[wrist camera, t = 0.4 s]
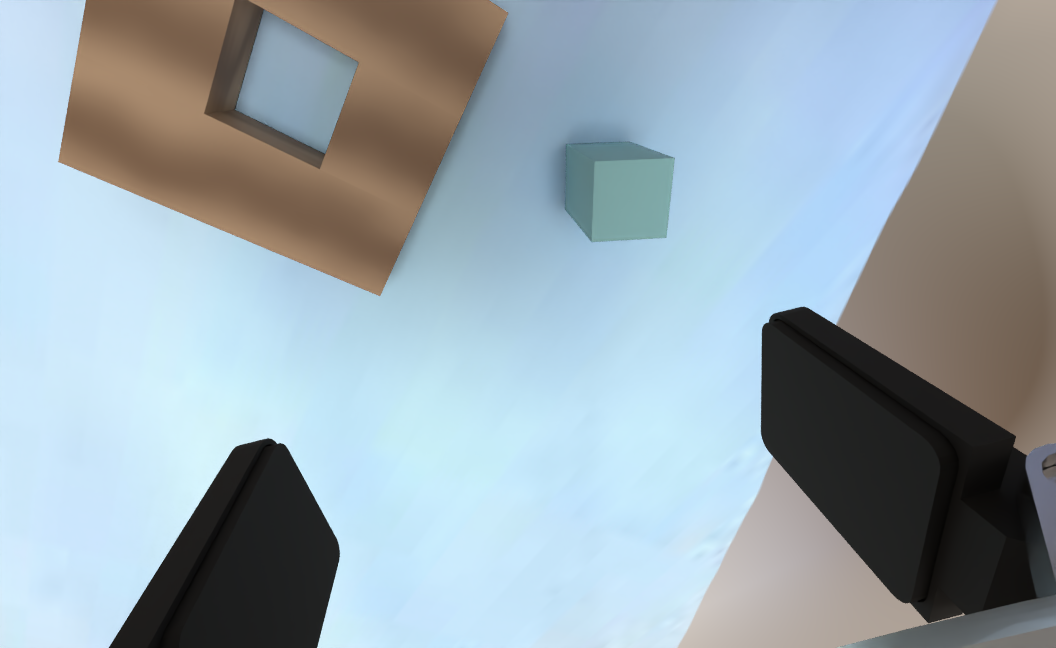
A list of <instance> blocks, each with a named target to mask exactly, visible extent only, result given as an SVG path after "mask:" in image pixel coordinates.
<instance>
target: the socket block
mask: <svg viewBox="0 0 1056 648" xmlns="http://www.w3.org/2000/svg"><path fill="white" fill-rule="evenodd" d="M264 9H265V10H266V11H268V12H270V13H272V14H274V15H275V16H277V17H279V18H281V19H282V20H284V21H286V22H288V23H290V24H291V25H293V26H295V27H297V28H299V29H300V30H302V31H304V32H306V33H307V34H309V35H311V36H313V37H315V38H316V39H318V40H320V41H322V42H323V43H325V44H327V45H329V46H331V47H332V48H334V49H336V50H338V51H340V52H341V53H343V54H345V55H347V56H348V57H350V58H352V59H354V60H356V61H357V62H359V64H358V66H357V69H356V72H355V75H354V77H353V80H352V83H351V85H350V88H349V91H348V94H347V96H346V99H345V102H344V105H343V107H342V110H341V113H340V116H339V118H338V121H337V124H336V126H335V129H334V132H333V135H332V137H331V140H330V143H329V146H328V148H327V151H326V154H323V153H321V152H319V151H317V150H315V149H313V148H311V147H309V146H307V145H305V144H303V143H301V142H299V141H297V140H295V139H293V138H291V137H289V136H287V135H285V134H283V133H281V132H279V131H277V130H275V129H273V128H271V127H269V126H267V125H264V124H262V123H260V122H258V121H256V120H254V119H252V118H250V117H248V116H246V115H244V114H242V113H240V112H238V111H236V110H235V106H236V103H237V99H238V96H239V93H240V89H241V86H242V82H243V79H244V75H245V72H246V68H247V65H248V62H249V58H250V55H251V51H252V48H253V44H254V41H255V37H256V34H257V31H258V27H259V24H260V20H261V17H262V13H263V10H264ZM507 15H508V12H506V11H505V10H503V9H501V8H500V7H498V6H497V5H495V4H494V3H492V2H491V1H489V0H86V4H85V10H84V15H83V21H82V27H81V33H80V39H79V45H78V50H77V56H76V62H75V68H74V74H73V79H72V85H71V91H70V97H69V103H68V109H67V114H66V120H65V126H64V132H63V138H62V144H61V149H60V155H59V161H58V162H60V163H62V164H65V165H67V166H70V167H72V168H74V169H77V170H79V171H82V172H84V173H86V174H89V175H91V176H94V177H96V178H98V179H101V180H103V181H106V182H108V183H110V184H113V185H115V186H118V187H120V188H122V189H125V190H127V191H129V192H132V193H134V194H137V195H139V196H141V197H144V198H146V199H149V200H151V201H153V202H156V203H158V204H161V205H163V206H165V207H168V208H170V209H173V210H175V211H177V212H180V213H182V214H185V215H187V216H189V217H192V218H194V219H197V220H199V221H201V222H204V223H206V224H208V225H211V226H213V227H216V228H218V229H220V230H223V231H225V232H228V233H230V234H232V235H235V236H237V237H240V238H242V239H244V240H247V241H249V242H252V243H254V244H256V245H259V246H261V247H264V248H266V249H268V250H271V251H273V252H276V253H278V254H280V255H283V256H285V257H288V258H290V259H292V260H295V261H297V262H299V263H302V264H304V265H307V266H309V267H311V268H314V269H316V270H319V271H321V272H323V273H326V274H328V275H331V276H333V277H335V278H338V279H340V280H343V281H345V282H347V283H350V284H352V285H355V286H357V287H359V288H362V289H364V290H367V291H369V292H371V293H374V294H376V295H378V296H380V295H381V293H382V291H383V288H384V286H385V284H386V282H387V280H388V277H389V275H390V273H391V271H392V269H393V266H394V264H395V262H396V260H397V258H398V255H399V253H400V251H401V249H402V247H403V244H404V242H405V240H406V238H407V235H408V233H409V231H410V229H411V227H412V224H413V222H414V220H415V218H416V216H417V213H418V211H419V209H420V207H421V205H422V202H423V200H424V198H425V196H426V194H427V191H428V189H429V187H430V185H431V183H432V180H433V178H434V176H435V174H436V172H437V169H438V167H439V165H440V163H441V160H442V158H443V156H444V154H445V152H446V149H447V147H448V145H449V143H450V141H451V138H452V136H453V134H454V132H455V130H456V127H457V125H458V123H459V121H460V119H461V116H462V114H463V112H464V110H465V108H466V105H467V103H468V101H469V99H470V97H471V94H472V92H473V90H474V88H475V85H476V83H477V81H478V79H479V77H480V74H481V72H482V70H483V68H484V66H485V63H486V61H487V59H488V57H489V55H490V52H491V50H492V48H493V46H494V44H495V41H496V39H497V37H498V35H499V33H500V30H501V28H502V26H503V24H504V22H505V19H506V17H507Z"/></svg>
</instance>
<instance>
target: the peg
mask: <svg viewBox="0 0 1056 648" xmlns="http://www.w3.org/2000/svg"><path fill="white" fill-rule="evenodd" d="M674 160H675V158H673V157H670V156H668V155H665V154H662V153H659V152H657V151H654V150H651V149H648V148H645V147H643V146H640V145H637V144H634V143H632V142H610V143H583V144H566V189H565V210H566V211H567V212H568V213H569V215H570V216H571V217H572V218H573V220H574V221H575V222H576V223H577V225H578V226H579V227H580V228H581V229H582V231H583V232H584V233H585V234H586V236H587V237H588V238H589V239H590V241H591V242H601V241H618V240H635V239H653V238H666V236H667V227H668V217H669V208H670V198H671V189H672V179H673V170H674Z"/></svg>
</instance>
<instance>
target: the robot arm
mask: <svg viewBox="0 0 1056 648" xmlns="http://www.w3.org/2000/svg"><path fill="white" fill-rule="evenodd" d="M761 436H762V439H763V442H764V444H765V446H766V448H767V450H768V451H769V452H770V453H771V455H772V456H773V457H774V458H775V459H776V460H777V461H778V463H779V464H780V465H781V466H782V467H783V468H784V470H785V471H786V472H787V473H788V474H789V475H790V477H792V479H793V480H794V481H795V482H796V483H797V485H798V486H799V487H800V488H801V489H802V490H803V492H804V493H805V494H806V495H807V496H808V497H809V498H810V500H811V501H812V502H813V503H814V504H815V505H816V507H817V508H818V509H819V510H820V511H821V512H822V513H823V515H824V516H825V517H826V518H827V519H828V520H829V522H830V523H831V524H832V525H833V526H834V527H835V529H836V530H837V531H838V532H839V533H840V534H841V535H842V537H843V538H844V539H845V540H846V541H847V542H848V544H849V545H850V546H851V547H852V548H853V549H854V550H855V551H856V553H857V554H858V555H859V556H860V557H861V559H862V560H863V561H864V562H865V563H866V564H867V565H868V567H869V568H870V569H871V570H872V571H873V572H874V574H875V575H876V576H877V577H878V578H879V579H880V580H881V582H882V583H883V584H884V585H885V586H886V587H887V589H888V590H889V591H890V592H891V593H892V594H893V595H894V596H895V597H896V598H897V599H898V600H900V601H901V602H903V603H911V604H912V605H913V607H914V608H915V609H916V610H917V611H918V612H919V613H920V614H921V616H922V617H923V618H924V619H925V620H926V621H927V622H928V623H931V622H935V621H938V620H942V619H946V618H950V617H953V616H957V615H961V614H962V613H964V614H965V615H964V616H960V617H956V618H952V619H948V620H944V621H940V622H936V623H931V624H927V625H923V626H919V627H915V628H911V629H906V630H902V631H899V632H895V633H891V634H887V635H883V636H879V637H875V638H872V639H868V640H864V641H860V642H856V643H853V644H849V645H845V646H841V647H837V648H1056V443H1055V444H1047V445H1044V446H1041V447H1038V448H1035V449H1034V450H1032V451H1031V453H1030V454H1029V455H1028V456H1027V455H1025V454H1023V453H1022V452H1020V451H1018V450H1017V449H1016V448H1014V447H1013V445H1014V442H1015V438H1016V436H1015V435H1013V434H1011V433H1010V432H1008V431H1007V430H1005V429H1003V428H1002V427H1000V426H998V425H997V424H995V423H994V422H992V421H990V420H989V419H987V418H985V417H984V416H982V415H980V414H979V413H977V412H976V411H974V410H973V409H971V408H969V407H968V406H966V405H964V404H963V403H961V402H960V401H958V400H956V399H955V398H953V397H951V396H950V395H948V394H947V393H945V392H943V391H942V390H940V389H939V388H937V387H935V386H934V385H932V384H930V383H929V382H927V381H926V380H924V379H922V378H921V377H919V376H917V375H916V374H914V373H913V372H910V371H909V370H907V369H906V368H904V367H903V366H901V365H900V364H898V363H896V362H895V361H893V360H891V359H890V358H888V357H887V356H885V355H883V354H881V353H880V352H878V351H877V350H875V349H873V348H872V347H870V346H869V345H867V344H866V343H864V342H862V341H861V340H859V339H857V338H856V337H854V336H853V335H851V334H849V333H848V332H846V331H844V330H843V329H841V328H840V327H838V326H836V325H835V324H833V323H832V322H830V321H828V320H827V319H825V318H823V317H822V316H820V315H819V314H817V313H815V312H814V311H812V310H810V309H809V308H806V307H799V308H795V309H791V310H787V311H783V312H778V313H774V314H773V315H772V316H771V317H770V319H769V323H766V324H764V326H763V328H762V382H761ZM339 557H340V550H339V544H338V541H337V539H336V537H335V535H334V533H333V531H332V529H331V528H330V526H329V524H328V522H327V520H326V518H325V516H324V515H323V513H322V511H321V509H320V507H319V505H318V504H317V502H316V500H315V498H314V496H313V494H312V493H311V491H310V489H309V487H308V485H307V483H306V481H305V480H304V478H303V476H302V474H301V472H300V470H299V469H298V467H297V465H296V463H295V461H294V459H293V458H292V456H291V454H290V452H289V450H288V449H287V447H286V446H285V445H284V444H281V443H279V444H277V443H276V442H275V441H274V440H272V439H269V438H267V439H263V440H259V441H255V442H251V443H247V444H243V445H239V446H237V447H235V448H234V449H233V450H232V452H231V454H230V455H229V457H228V458H227V460H226V462H225V463H224V465H223V466H222V468H221V470H220V471H219V473H218V474H217V476H216V478H215V479H214V481H213V482H212V484H211V485H210V487H209V489H208V490H207V492H206V493H205V495H204V497H203V498H202V500H201V501H200V503H199V505H198V506H197V508H196V509H195V511H194V513H193V514H192V516H191V517H190V519H189V521H188V522H187V524H186V525H185V527H184V529H183V530H182V532H181V533H180V535H179V537H178V538H177V540H176V541H175V543H174V545H173V546H172V548H171V549H170V551H169V553H168V554H167V556H166V557H165V559H164V561H163V562H162V564H161V565H160V567H159V568H158V570H157V572H156V573H155V575H154V576H153V578H152V580H151V581H150V583H149V584H148V586H147V588H146V589H145V591H144V592H143V594H142V596H141V597H140V599H139V600H138V602H137V604H136V605H135V607H134V608H133V610H132V612H131V613H130V615H129V616H128V618H127V620H126V621H125V623H124V624H123V626H122V628H121V629H120V631H119V632H118V634H117V636H116V637H115V639H114V640H113V642H112V644H111V645H110V647H109V648H317V646H318V642H319V638H320V634H321V630H322V626H323V622H324V618H325V614H326V610H327V606H328V602H329V598H330V594H331V590H332V586H333V583H334V579H335V575H336V571H337V567H338V563H339Z"/></svg>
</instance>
